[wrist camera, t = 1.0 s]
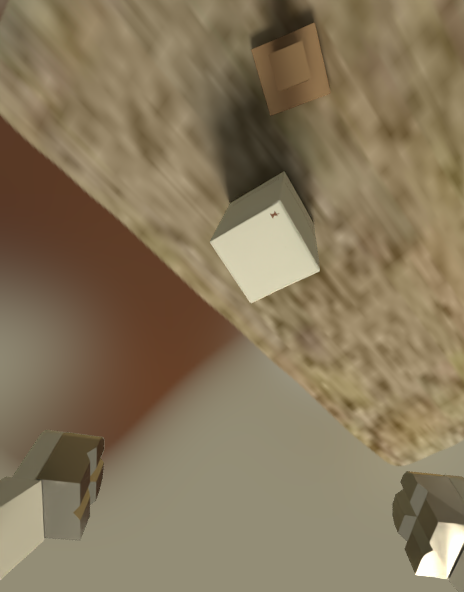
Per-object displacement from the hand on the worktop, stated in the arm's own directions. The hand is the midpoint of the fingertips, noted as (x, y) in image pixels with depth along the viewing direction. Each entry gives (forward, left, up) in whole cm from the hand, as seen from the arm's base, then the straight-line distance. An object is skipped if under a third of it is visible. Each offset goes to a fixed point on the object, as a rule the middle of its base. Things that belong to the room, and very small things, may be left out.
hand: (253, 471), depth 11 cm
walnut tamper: (-4, -10, -38) cm, 39 cm away
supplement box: (+2, +3, -38) cm, 38 cm away
